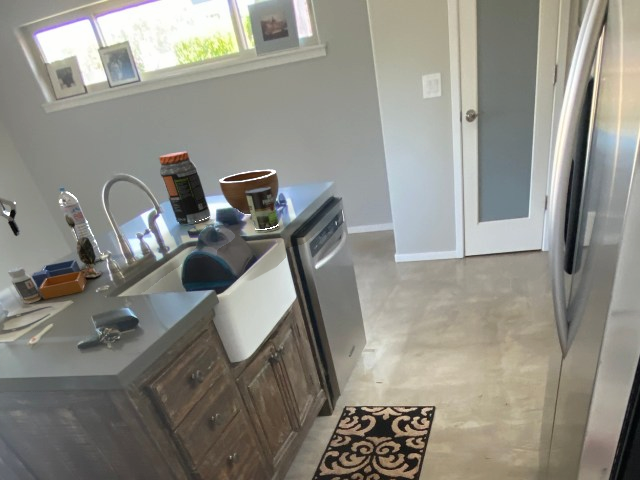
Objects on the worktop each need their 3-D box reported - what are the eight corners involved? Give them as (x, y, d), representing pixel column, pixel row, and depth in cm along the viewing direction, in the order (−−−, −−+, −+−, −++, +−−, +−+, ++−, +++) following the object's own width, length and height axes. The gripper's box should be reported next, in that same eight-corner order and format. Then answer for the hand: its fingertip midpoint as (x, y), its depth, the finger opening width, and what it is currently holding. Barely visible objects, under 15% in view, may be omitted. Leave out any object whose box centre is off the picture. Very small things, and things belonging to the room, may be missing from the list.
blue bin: (44, 284, 187) (39, 273, 184) (49, 275, 195) (44, 265, 192) (76, 277, 188) (71, 267, 186) (80, 269, 196) (75, 259, 194)
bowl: (263, 222, 221) (253, 181, 211) (218, 222, 230) (207, 183, 220) (295, 207, 236) (287, 168, 226) (251, 208, 246) (242, 171, 236)
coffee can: (285, 225, 212) (276, 186, 202) (269, 233, 205) (259, 192, 196) (265, 225, 216) (256, 186, 207) (249, 232, 210) (239, 192, 200)
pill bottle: (45, 297, 174) (29, 266, 167) (33, 304, 170) (15, 272, 163) (32, 297, 175) (15, 266, 168) (20, 304, 171) (2, 272, 164)
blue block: (39, 289, 182) (31, 276, 178) (41, 286, 185) (34, 272, 182) (52, 287, 182) (45, 273, 179) (54, 283, 186) (47, 269, 183)
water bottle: (101, 256, 208) (69, 184, 191) (105, 259, 203) (72, 186, 186) (84, 261, 205) (50, 188, 188) (87, 264, 201) (52, 190, 184)
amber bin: (44, 299, 172) (38, 288, 170) (50, 288, 181) (45, 278, 179) (82, 291, 174) (77, 280, 172) (86, 281, 183) (81, 270, 181)
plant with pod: (111, 269, 191) (84, 208, 178) (95, 279, 183) (65, 216, 170) (91, 271, 193) (63, 210, 179) (74, 281, 184) (44, 219, 171)
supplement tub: (213, 214, 245) (194, 148, 228) (209, 222, 233) (188, 153, 216) (180, 219, 245) (158, 154, 228) (174, 227, 233) (151, 159, 216)
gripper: (-72, 180, 144) (-33, 246, 156) (-7, 169, 147) (28, 235, 158) (-64, 177, 150) (-26, 241, 161) (0, 166, 153) (32, 230, 164)
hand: (1, 238), depth 160 cm, fingers open, 9 cm apart
